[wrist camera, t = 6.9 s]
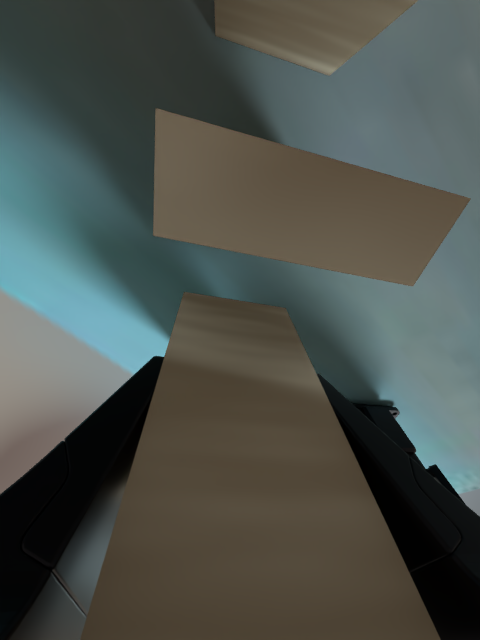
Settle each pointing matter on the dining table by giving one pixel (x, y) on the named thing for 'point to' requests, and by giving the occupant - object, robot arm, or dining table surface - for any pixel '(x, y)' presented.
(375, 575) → the domino
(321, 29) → the domino
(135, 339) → the dining table surface
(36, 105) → the dining table surface
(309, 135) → the dining table surface
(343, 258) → the domino
